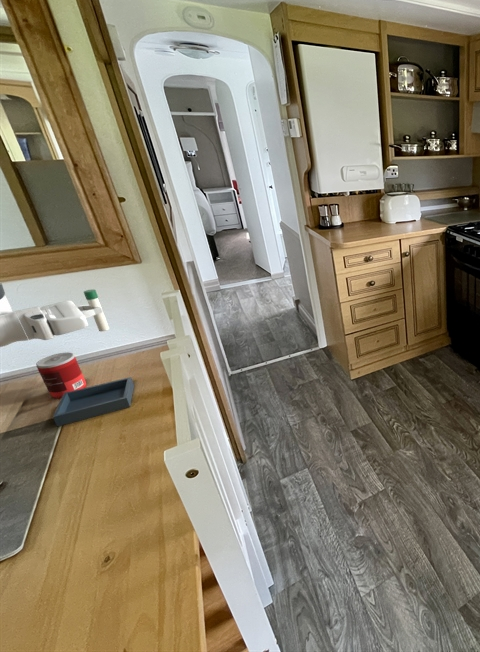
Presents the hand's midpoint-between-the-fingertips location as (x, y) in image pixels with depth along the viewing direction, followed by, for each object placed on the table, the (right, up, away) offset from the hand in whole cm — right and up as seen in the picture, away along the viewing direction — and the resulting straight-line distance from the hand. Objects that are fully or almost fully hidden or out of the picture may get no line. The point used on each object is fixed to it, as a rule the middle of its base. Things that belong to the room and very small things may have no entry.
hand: (100, 308), depth 119 cm
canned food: (-2, -25, -8) cm, 26 cm away
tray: (+13, -27, -13) cm, 33 cm away
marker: (-1, -7, +2) cm, 7 cm away
